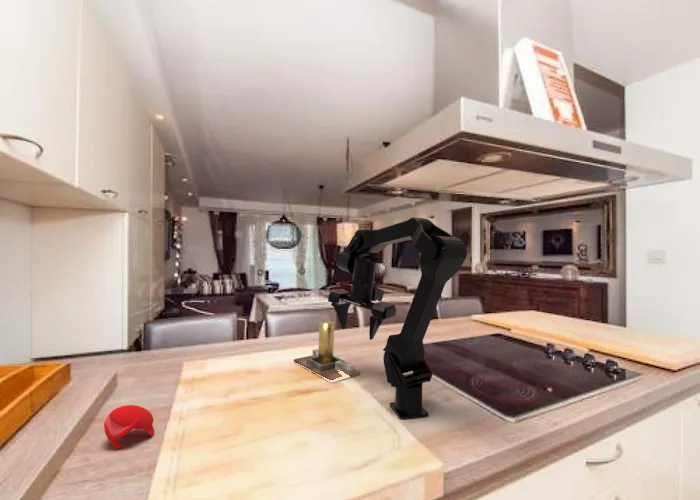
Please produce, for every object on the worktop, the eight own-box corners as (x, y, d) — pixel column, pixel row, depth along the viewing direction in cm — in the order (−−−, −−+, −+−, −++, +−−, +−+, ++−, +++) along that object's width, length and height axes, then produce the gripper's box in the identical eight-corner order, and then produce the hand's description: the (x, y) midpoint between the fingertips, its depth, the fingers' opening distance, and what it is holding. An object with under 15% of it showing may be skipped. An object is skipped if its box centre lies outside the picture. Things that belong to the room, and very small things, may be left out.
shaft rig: (360, 374, 88) (360, 364, 88) (330, 383, 82) (331, 371, 82) (320, 356, 104) (321, 347, 104) (293, 362, 97) (294, 352, 97)
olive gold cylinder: (331, 368, 90) (333, 324, 90) (316, 367, 91) (318, 323, 91) (333, 362, 95) (335, 321, 95) (319, 361, 95) (321, 320, 95)
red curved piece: (95, 439, 50) (134, 413, 52) (98, 411, 54) (134, 389, 56) (127, 461, 54) (162, 437, 56) (127, 434, 58) (159, 413, 61)
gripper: (408, 281, 84) (401, 337, 86) (353, 269, 95) (347, 318, 97) (388, 286, 75) (380, 348, 77) (329, 271, 86) (323, 326, 88)
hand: (357, 334), depth 85 cm, fingers open, 9 cm apart
